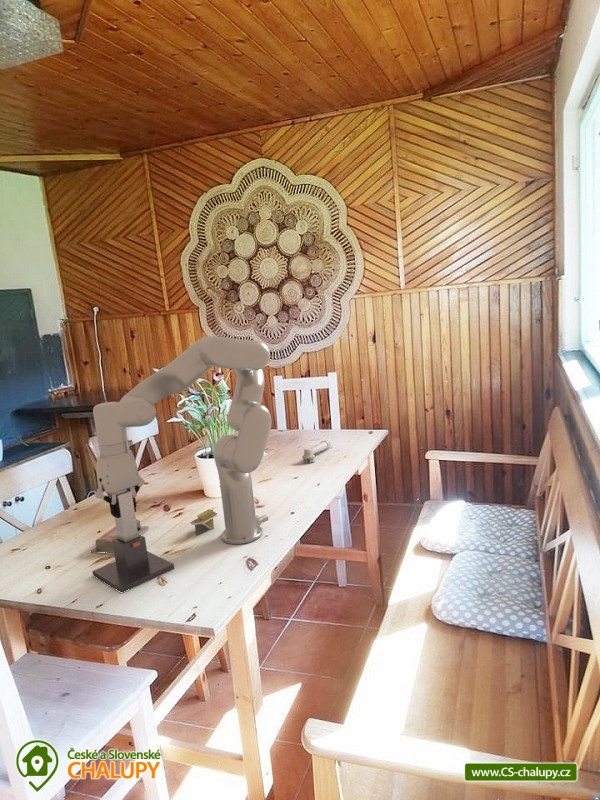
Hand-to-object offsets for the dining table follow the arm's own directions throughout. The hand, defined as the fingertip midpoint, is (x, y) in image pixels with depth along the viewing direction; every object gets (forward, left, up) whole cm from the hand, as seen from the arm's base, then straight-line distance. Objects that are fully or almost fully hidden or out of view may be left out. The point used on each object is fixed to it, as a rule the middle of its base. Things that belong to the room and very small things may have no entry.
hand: (124, 513), depth 156 cm
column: (0, 0, -10) cm, 10 cm away
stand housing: (0, 0, -17) cm, 17 cm away
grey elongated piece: (-108, -32, -18) cm, 115 cm away
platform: (-29, -6, -18) cm, 35 cm away
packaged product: (-9, -24, -18) cm, 31 cm away
